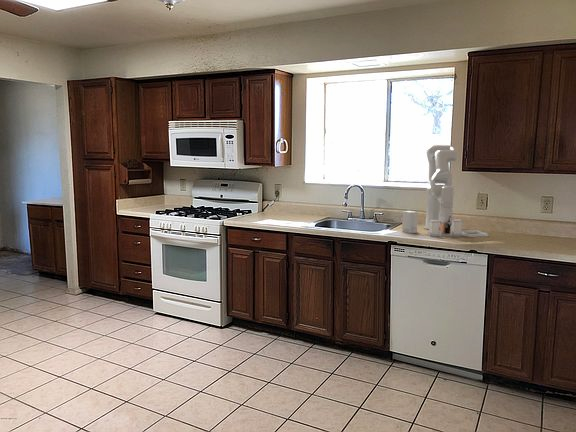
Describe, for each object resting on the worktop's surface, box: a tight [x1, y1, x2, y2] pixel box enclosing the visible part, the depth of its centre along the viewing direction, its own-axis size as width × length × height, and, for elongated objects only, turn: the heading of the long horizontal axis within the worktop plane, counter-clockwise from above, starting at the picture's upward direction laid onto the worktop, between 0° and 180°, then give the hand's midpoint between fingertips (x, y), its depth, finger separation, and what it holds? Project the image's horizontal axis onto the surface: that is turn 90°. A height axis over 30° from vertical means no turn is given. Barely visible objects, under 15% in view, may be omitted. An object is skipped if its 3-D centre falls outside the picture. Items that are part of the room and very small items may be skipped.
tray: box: [462, 229, 489, 238], centre depth 308 cm, size 14×14×3 cm
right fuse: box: [450, 218, 463, 236], centre depth 305 cm, size 4×5×10 cm
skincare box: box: [401, 210, 418, 234], centre depth 315 cm, size 8×7×16 cm
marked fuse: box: [439, 222, 450, 236], centre depth 304 cm, size 4×5×10 cm
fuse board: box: [424, 230, 465, 238], centre depth 304 cm, size 10×24×4 cm, turn 100°
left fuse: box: [428, 220, 440, 236], centre depth 302 cm, size 4×5×10 cm
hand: (445, 232), depth 304 cm, fingers open, 5 cm apart
